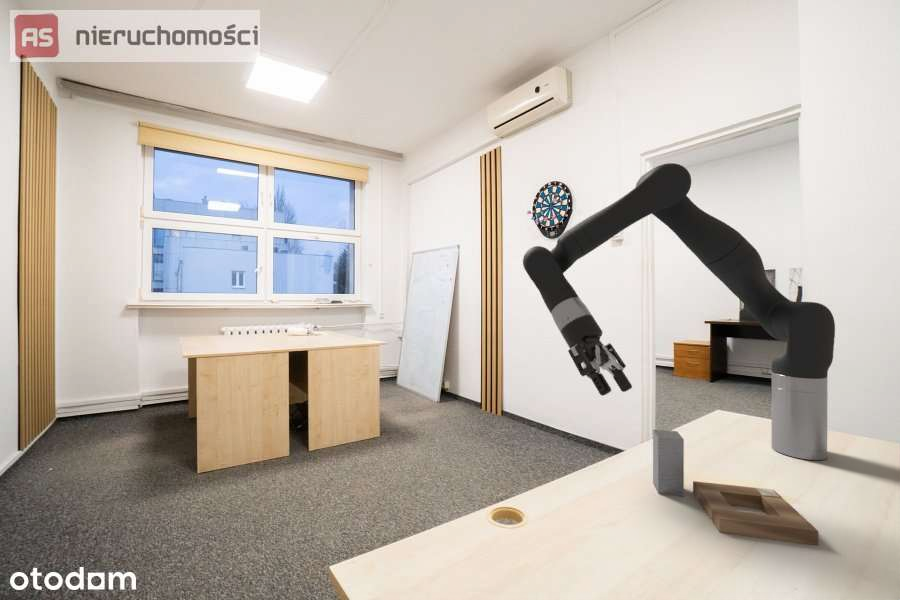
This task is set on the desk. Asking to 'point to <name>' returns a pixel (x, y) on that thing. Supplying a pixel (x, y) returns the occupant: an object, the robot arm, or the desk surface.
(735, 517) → the socket board
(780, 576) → the desk surface
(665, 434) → the peg
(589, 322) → the robot arm
